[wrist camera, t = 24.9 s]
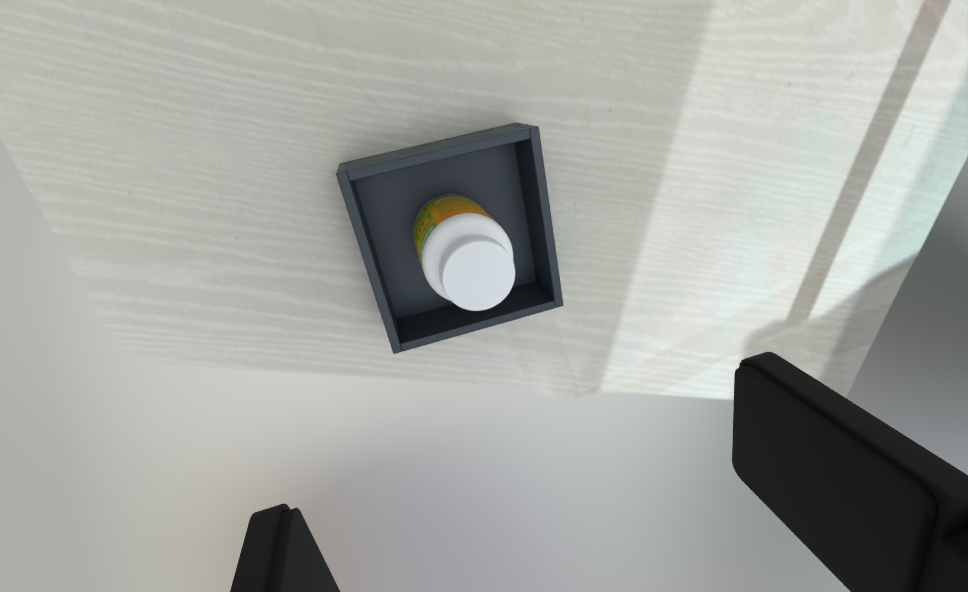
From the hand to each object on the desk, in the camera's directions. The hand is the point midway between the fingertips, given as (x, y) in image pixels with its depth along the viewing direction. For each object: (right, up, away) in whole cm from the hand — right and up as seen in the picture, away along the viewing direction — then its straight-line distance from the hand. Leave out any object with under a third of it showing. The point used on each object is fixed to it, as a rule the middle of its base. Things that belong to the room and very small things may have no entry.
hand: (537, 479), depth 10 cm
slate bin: (-4, +9, +25) cm, 26 cm away
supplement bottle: (-4, +8, +24) cm, 26 cm away
